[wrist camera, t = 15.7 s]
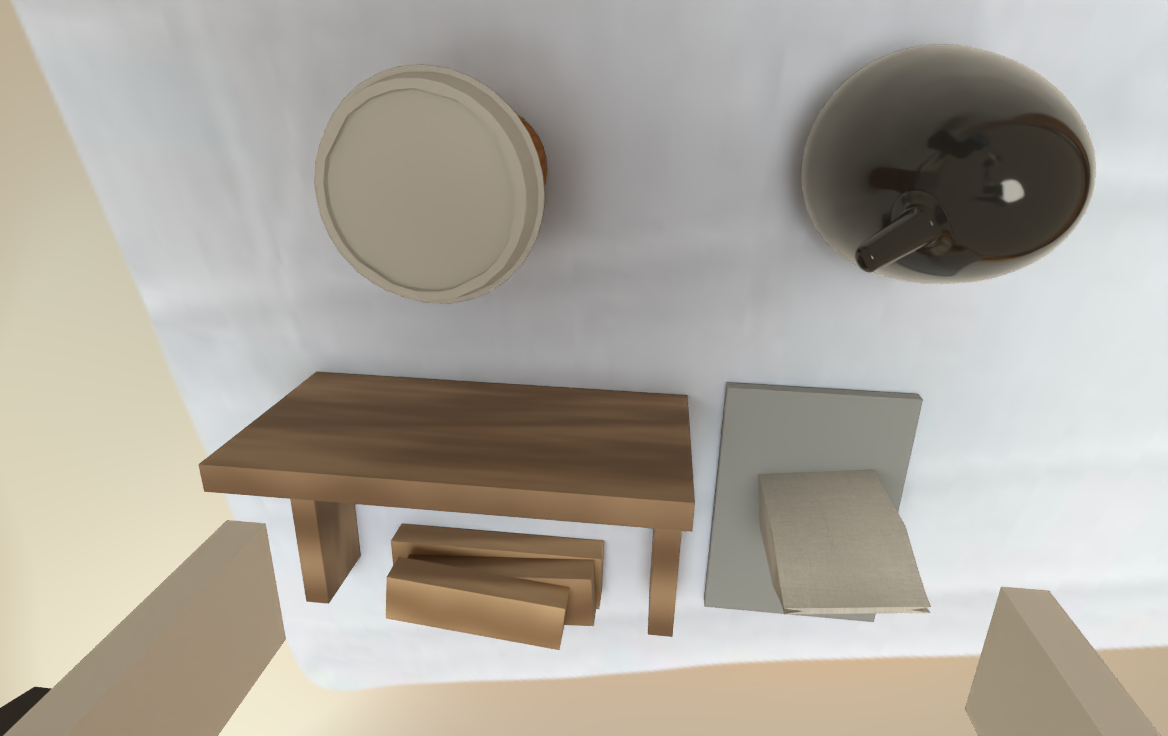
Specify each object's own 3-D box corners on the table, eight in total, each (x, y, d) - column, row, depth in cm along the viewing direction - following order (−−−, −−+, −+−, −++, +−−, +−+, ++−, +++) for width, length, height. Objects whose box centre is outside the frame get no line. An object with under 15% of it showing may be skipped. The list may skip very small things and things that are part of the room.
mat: (726, 382, 41) (727, 387, 41) (917, 394, 40) (922, 399, 39) (703, 598, 47) (704, 606, 46) (870, 613, 46) (873, 622, 45)
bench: (316, 371, 44) (198, 464, 33) (687, 395, 42) (694, 503, 31) (340, 553, 49) (245, 686, 38) (671, 583, 47) (673, 734, 36)
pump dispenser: (754, 115, 36) (811, 127, 22) (960, 9, 33) (1177, -56, 19) (825, 288, 39) (916, 397, 25) (1020, 203, 36) (1247, 272, 22)
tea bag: (758, 473, 42) (784, 579, 33) (873, 469, 41) (933, 576, 32) (759, 525, 44) (784, 639, 34) (871, 521, 43) (928, 639, 33)
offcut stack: (401, 519, 48) (366, 575, 42) (603, 536, 46) (595, 596, 41) (406, 577, 49) (373, 638, 44) (601, 595, 48) (593, 660, 42)
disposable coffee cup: (555, 270, 40) (512, 336, 29) (397, 228, 40) (293, 278, 29) (595, 98, 36) (563, 99, 25) (420, 53, 36) (312, 34, 25)
